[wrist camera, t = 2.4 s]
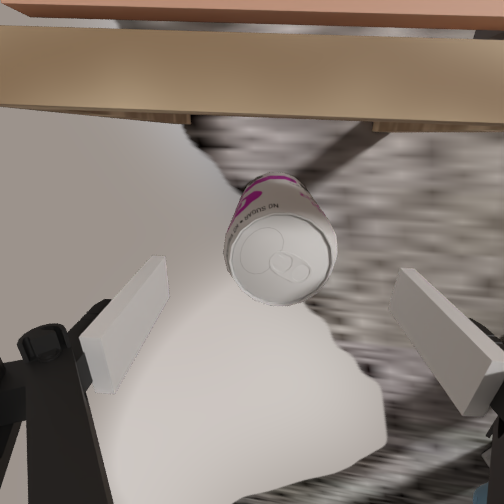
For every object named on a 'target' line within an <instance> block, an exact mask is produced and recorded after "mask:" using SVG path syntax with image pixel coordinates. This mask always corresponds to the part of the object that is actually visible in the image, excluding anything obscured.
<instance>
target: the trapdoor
mask: <svg viewBox="0 0 504 504" xmlns="http://www.w3.org/2000/svg"><path fill="white" fill-rule="evenodd" d="M1 3H3V4H4V5H6V6H9V7H11V8H13V9H15V10H17V11H19V12H21V13H23V14H25V15H27V16H29V17H42V18H77V19H78V18H79V19H113V20H148V21H183V22H218V23H254V24H289V25H324V26H360V27H395V28H430V29H465V30H476V31H475V35H474V38H473V39H481V40H504V0H1Z"/></svg>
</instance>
